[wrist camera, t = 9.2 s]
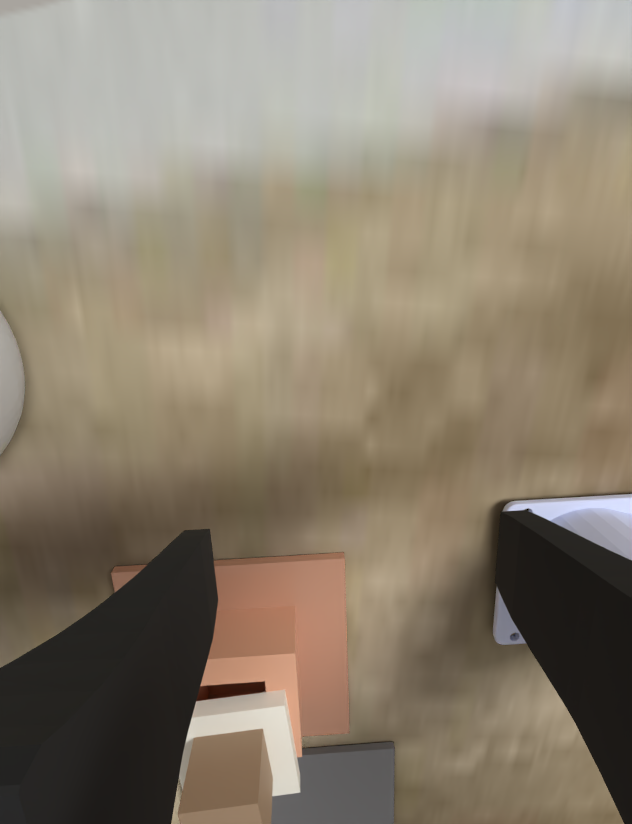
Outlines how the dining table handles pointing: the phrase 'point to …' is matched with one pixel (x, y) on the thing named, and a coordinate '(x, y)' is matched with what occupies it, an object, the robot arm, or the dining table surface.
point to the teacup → (10, 384)
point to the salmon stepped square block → (280, 636)
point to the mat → (341, 786)
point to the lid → (237, 760)
